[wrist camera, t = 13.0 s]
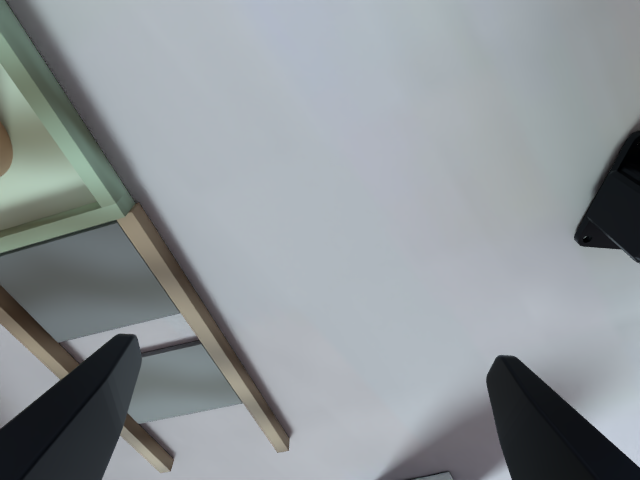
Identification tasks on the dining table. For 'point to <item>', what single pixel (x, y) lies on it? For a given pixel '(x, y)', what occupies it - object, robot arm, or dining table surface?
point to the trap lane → (97, 259)
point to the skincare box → (437, 477)
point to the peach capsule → (5, 150)
